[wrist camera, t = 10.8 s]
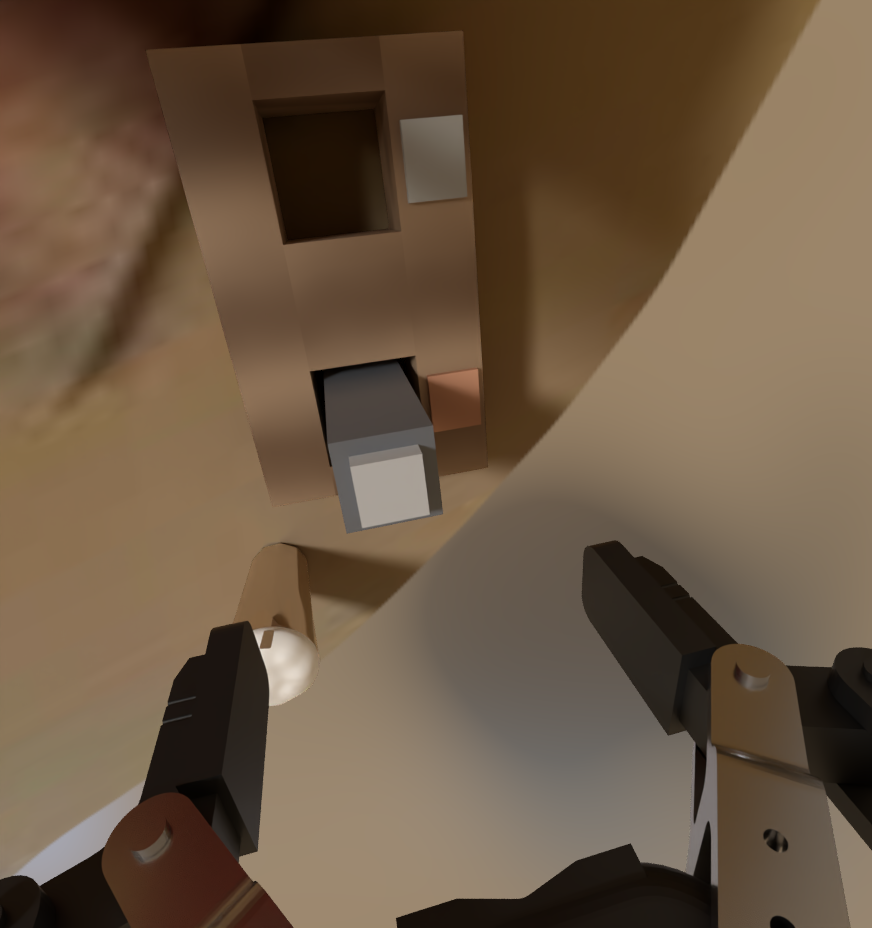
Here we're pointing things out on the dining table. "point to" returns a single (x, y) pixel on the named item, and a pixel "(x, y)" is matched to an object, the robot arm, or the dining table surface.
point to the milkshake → (281, 619)
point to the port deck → (334, 238)
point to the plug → (380, 446)
